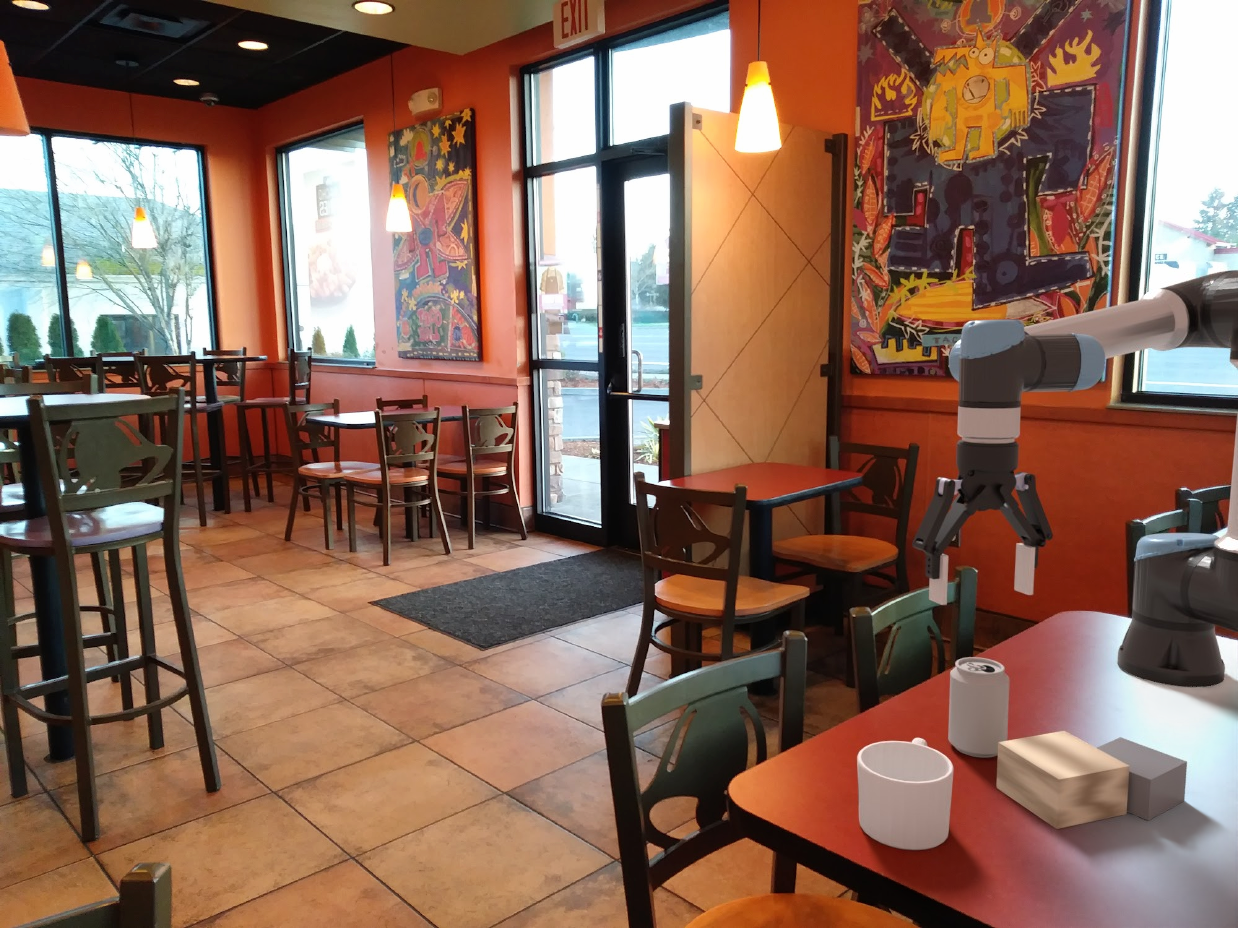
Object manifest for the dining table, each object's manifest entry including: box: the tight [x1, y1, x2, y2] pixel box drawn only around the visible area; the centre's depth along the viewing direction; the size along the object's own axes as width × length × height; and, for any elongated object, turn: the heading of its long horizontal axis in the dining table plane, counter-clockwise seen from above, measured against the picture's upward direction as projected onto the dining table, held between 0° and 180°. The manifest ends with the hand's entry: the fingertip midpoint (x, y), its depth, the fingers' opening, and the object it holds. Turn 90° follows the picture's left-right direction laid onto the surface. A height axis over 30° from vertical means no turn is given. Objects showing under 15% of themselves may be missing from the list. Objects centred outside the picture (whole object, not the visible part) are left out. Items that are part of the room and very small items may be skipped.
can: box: [947, 656, 1010, 758], centre depth 122 cm, size 8×8×12 cm
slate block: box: [1096, 736, 1188, 821], centre depth 108 cm, size 8×8×5 cm
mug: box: [856, 737, 955, 851], centre depth 104 cm, size 13×10×8 cm
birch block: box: [995, 730, 1129, 830], centre depth 108 cm, size 10×10×6 cm
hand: (981, 597), depth 119 cm, fingers open, 13 cm apart
